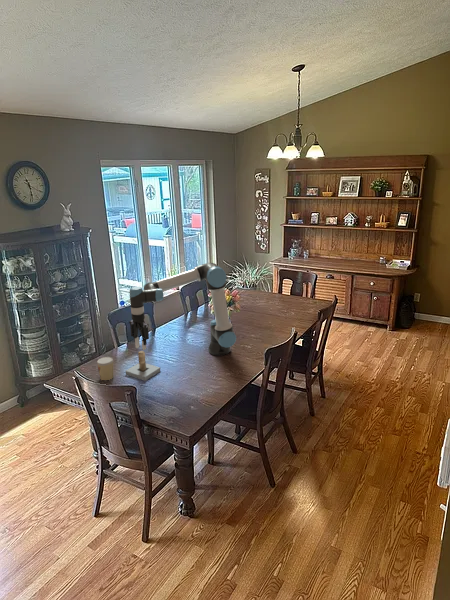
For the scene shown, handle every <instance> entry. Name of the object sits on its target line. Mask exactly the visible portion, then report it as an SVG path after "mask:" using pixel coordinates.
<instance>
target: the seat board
mask: <svg viewBox="0 0 450 600" xmlns="http://www.w3.org/2000/svg"><path fill="white" fill-rule="evenodd" d="M160 372H161V366H160V367H159V366H157V365H154V364H153V365H152V364H149V363H146V371H144V372H141V371H140V368H139V362H138V363H137V364H135V365H133V366H131V367H130V368H128V369H126V370H125V375H127V376H129V377H132V378H135V379H139V380H141V381H144V382H146V381H147V380H149V379H150V378H152V377H154V376H155V375H157V374H158V373H160Z"/></svg>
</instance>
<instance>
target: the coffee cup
mask: <svg viewBox="0 0 450 600" xmlns="http://www.w3.org/2000/svg"><path fill="white" fill-rule="evenodd" d="M96 364H97V368H98V374H99V378H100V380H101V381H102V380H109V381H111V380H113V379H112V378H114V359H113V357H109V356H105V357H104V356H103V357H100V358H99V359H97V362H96ZM110 379H111V380H110Z"/></svg>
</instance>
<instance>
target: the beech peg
mask: <svg viewBox="0 0 450 600" xmlns="http://www.w3.org/2000/svg"><path fill="white" fill-rule="evenodd" d="M137 355H138V356H137V357H138V363H139V368H140V371H141V372H144V371H146V353H145V350H140V351H138V353H137Z"/></svg>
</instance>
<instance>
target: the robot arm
mask: <svg viewBox="0 0 450 600" xmlns="http://www.w3.org/2000/svg"><path fill="white" fill-rule="evenodd" d="M197 281H198V282H201V281H206V287H207V290H209V291H210V295H211V302H212V307H213V313H214V318H215V319H212V320H210V323H209V325H210V326H209V327H210V343H209V346H208V353H209V354H210V355H212V356H220V355H222V356H225V354H226V355H228V354H230V353H229V352H231V348H232V347H233V346H234V345H235V343H236V342H237V335H236V333H235V331H234V328H233V327H234V326H233V324H232V323H231V322H230V317H229V311H228V305H227V298H226V293H225V292H226V291H225V288H226V286H227V285H226V282H227V273H226V271H225V270H224V269H223V267H221V266H219V265H217V264H216V263H214V262H206V263H203V264H200V265H197V266H194V268H193V269H191V270H190V269H189V270H188V271H187V270H186V271H184V272H181V273H178V274H175V275H172V276H169V277H165V278H163V279H160V280H157V281H154V282H151V281H147V282H146V283H145V284H144V285H143V287H141V286H132V287H131V288H130V289H129V303H130V304H129V305H130V311H131V312H130V313H131V320H130V321H129V326H130V336H131V337H132V338H133V340H134V341H133V342H134V344H135V349H138V348H140V347H141V346H142V347H141V349H142V350H141V351H145V350H146V349H147V342H148V340H149V339H150V337H149V336H150V334H149V323H145V318H146V317H145V308H144V307H145V306H144V304H146V303H155V302H157V303H158V302H161V301H163V300H164V292H166V291H169V290H173V289H176V288H178V287H182V286H185V285H188V284H190V283H194V282H197ZM139 332H140V336H141V338H142V339H141V346H140V339H139V338H140V337H139Z"/></svg>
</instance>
